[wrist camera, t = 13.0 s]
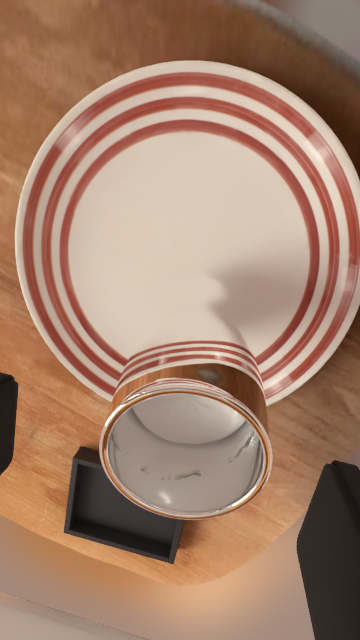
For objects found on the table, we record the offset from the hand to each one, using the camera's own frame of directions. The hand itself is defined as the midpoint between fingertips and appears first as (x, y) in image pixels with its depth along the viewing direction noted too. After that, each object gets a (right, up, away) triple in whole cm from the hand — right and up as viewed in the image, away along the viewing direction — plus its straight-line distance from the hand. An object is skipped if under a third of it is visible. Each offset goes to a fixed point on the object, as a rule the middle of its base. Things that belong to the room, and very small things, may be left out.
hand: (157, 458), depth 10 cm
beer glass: (+2, +5, +17) cm, 17 cm away
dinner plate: (+1, +9, +19) cm, 21 cm away
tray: (-5, -15, +26) cm, 31 cm away
